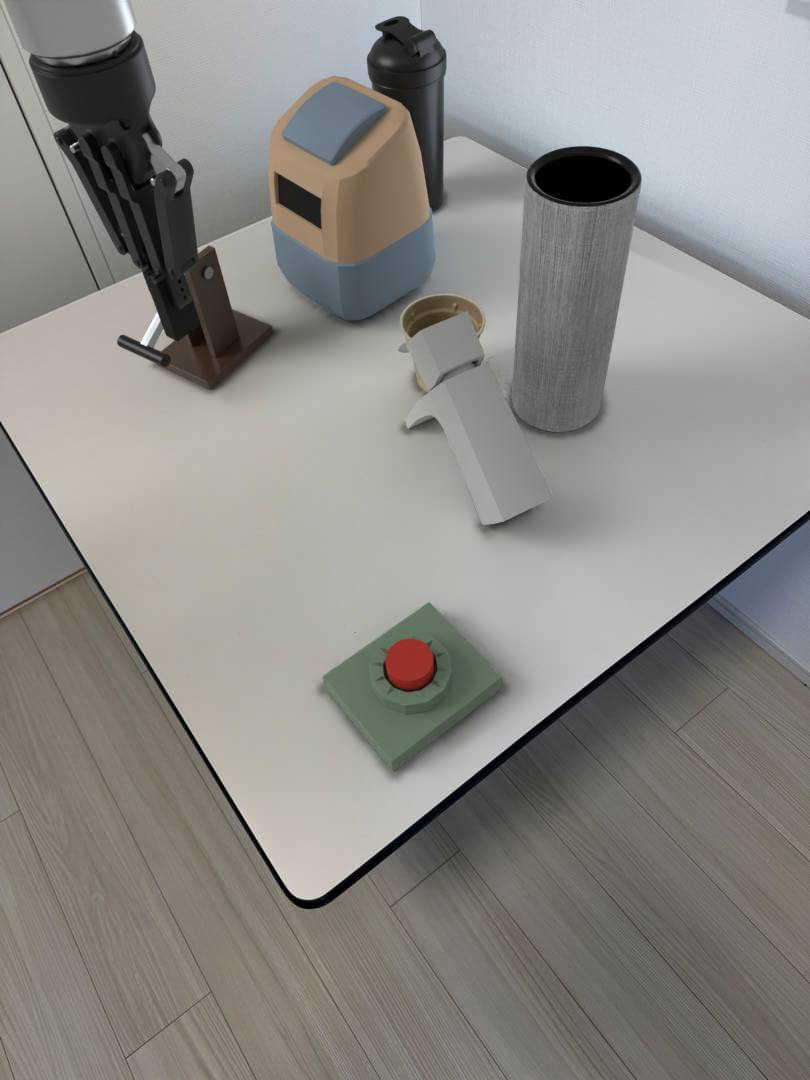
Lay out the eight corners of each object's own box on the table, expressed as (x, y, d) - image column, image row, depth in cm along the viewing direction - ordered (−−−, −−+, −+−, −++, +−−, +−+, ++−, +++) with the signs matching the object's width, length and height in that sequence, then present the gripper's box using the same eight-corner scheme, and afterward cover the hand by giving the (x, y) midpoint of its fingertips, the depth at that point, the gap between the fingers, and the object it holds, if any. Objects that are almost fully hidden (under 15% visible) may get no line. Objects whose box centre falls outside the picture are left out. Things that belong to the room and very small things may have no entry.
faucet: (502, 522, 77) (414, 324, 75) (448, 530, 92) (374, 367, 91) (557, 495, 78) (472, 301, 77) (494, 508, 94) (423, 347, 92)
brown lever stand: (210, 390, 97) (177, 292, 86) (156, 364, 101) (118, 268, 90) (273, 333, 103) (250, 235, 92) (220, 311, 106) (192, 213, 95)
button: (406, 699, 68) (405, 689, 66) (377, 666, 70) (375, 656, 68) (443, 671, 69) (443, 661, 68) (414, 640, 71) (413, 629, 70)
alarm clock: (271, 285, 109) (231, 107, 90) (366, 232, 115) (347, 55, 97) (351, 341, 101) (326, 159, 83) (448, 281, 107) (445, 99, 89)
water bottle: (417, 174, 124) (409, 3, 105) (463, 199, 119) (463, 25, 100) (365, 200, 120) (347, 28, 102) (410, 228, 115) (399, 53, 97)
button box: (393, 772, 68) (389, 753, 64) (325, 688, 73) (318, 666, 70) (501, 688, 72) (503, 667, 68) (429, 614, 77) (428, 590, 73)
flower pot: (501, 377, 96) (503, 317, 89) (445, 419, 92) (443, 360, 85) (443, 342, 100) (441, 282, 93) (387, 381, 96) (381, 322, 89)
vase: (615, 390, 93) (661, 160, 71) (576, 446, 88) (612, 217, 67) (537, 361, 97) (558, 134, 75) (495, 413, 92) (504, 187, 70)
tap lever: (169, 371, 92) (156, 362, 89) (125, 350, 94) (112, 341, 92) (224, 268, 92) (212, 257, 90) (179, 251, 95) (167, 240, 92)
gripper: (192, 39, 53) (265, 333, 71) (65, 1, 58) (164, 284, 77) (103, 87, 49) (204, 382, 68) (-24, 42, 54) (102, 327, 73)
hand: (182, 330), depth 72 cm, fingers closed
